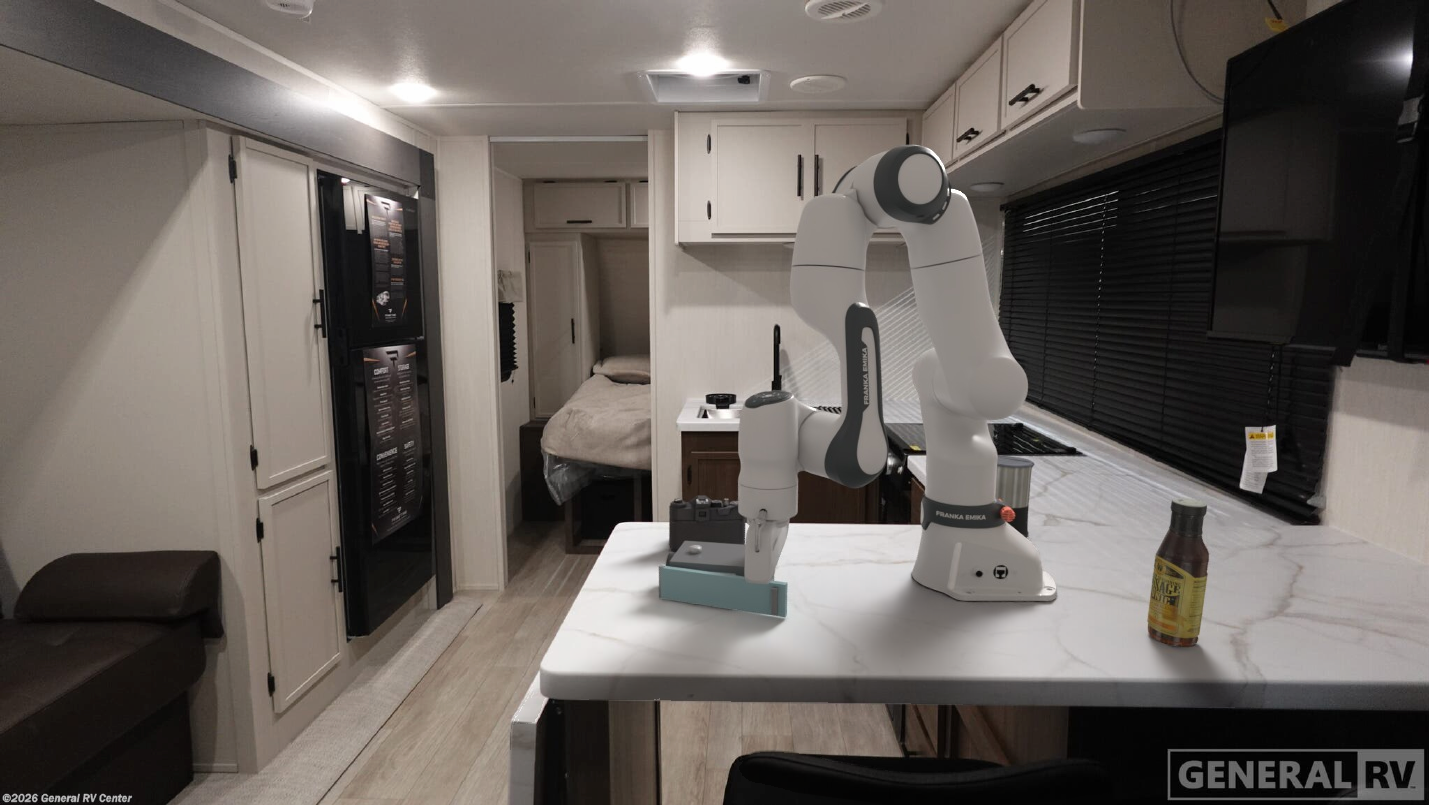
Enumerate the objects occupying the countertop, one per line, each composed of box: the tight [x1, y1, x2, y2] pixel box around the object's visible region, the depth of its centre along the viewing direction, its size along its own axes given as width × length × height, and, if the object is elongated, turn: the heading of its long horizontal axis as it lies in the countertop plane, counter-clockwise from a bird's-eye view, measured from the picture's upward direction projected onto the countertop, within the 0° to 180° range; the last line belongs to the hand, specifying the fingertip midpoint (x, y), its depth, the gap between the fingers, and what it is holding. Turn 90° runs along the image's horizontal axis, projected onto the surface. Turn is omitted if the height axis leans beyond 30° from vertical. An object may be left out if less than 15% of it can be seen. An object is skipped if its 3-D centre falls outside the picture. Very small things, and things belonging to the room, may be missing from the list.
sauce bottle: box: [1146, 497, 1210, 648], centre depth 102 cm, size 7×6×20 cm
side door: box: [658, 564, 788, 618], centre depth 113 cm, size 20×2×5 cm, turn 70°
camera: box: [668, 495, 746, 552], centre depth 142 cm, size 14×11×10 cm
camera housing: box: [665, 541, 745, 577], centre depth 121 cm, size 13×10×7 cm
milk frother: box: [995, 455, 1036, 538], centre depth 146 cm, size 14×16×15 cm
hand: (767, 589), depth 113 cm, fingers closed
